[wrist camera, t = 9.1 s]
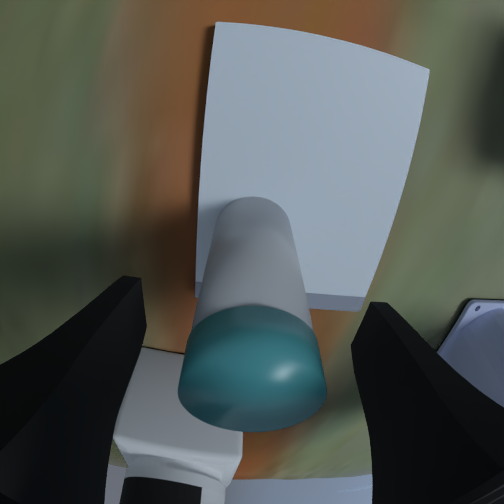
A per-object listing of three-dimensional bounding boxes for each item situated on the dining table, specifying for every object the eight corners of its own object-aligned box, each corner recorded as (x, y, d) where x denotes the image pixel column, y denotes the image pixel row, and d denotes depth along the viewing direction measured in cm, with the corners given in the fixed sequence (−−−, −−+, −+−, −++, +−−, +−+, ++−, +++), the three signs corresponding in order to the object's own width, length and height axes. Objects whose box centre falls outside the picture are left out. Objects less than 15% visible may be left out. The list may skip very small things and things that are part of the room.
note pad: (423, 69, 10) (430, 69, 10) (356, 304, 17) (359, 311, 16) (217, 24, 10) (215, 21, 9) (196, 289, 16) (195, 297, 16)
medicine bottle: (147, 398, 23) (120, 528, 12) (138, 343, 19) (90, 514, 9) (232, 411, 23) (226, 546, 13) (245, 360, 19) (241, 541, 9)
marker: (299, 201, 13) (348, 361, 6) (283, 269, 15) (303, 433, 8) (218, 190, 13) (175, 345, 6) (210, 259, 15) (180, 424, 7)
